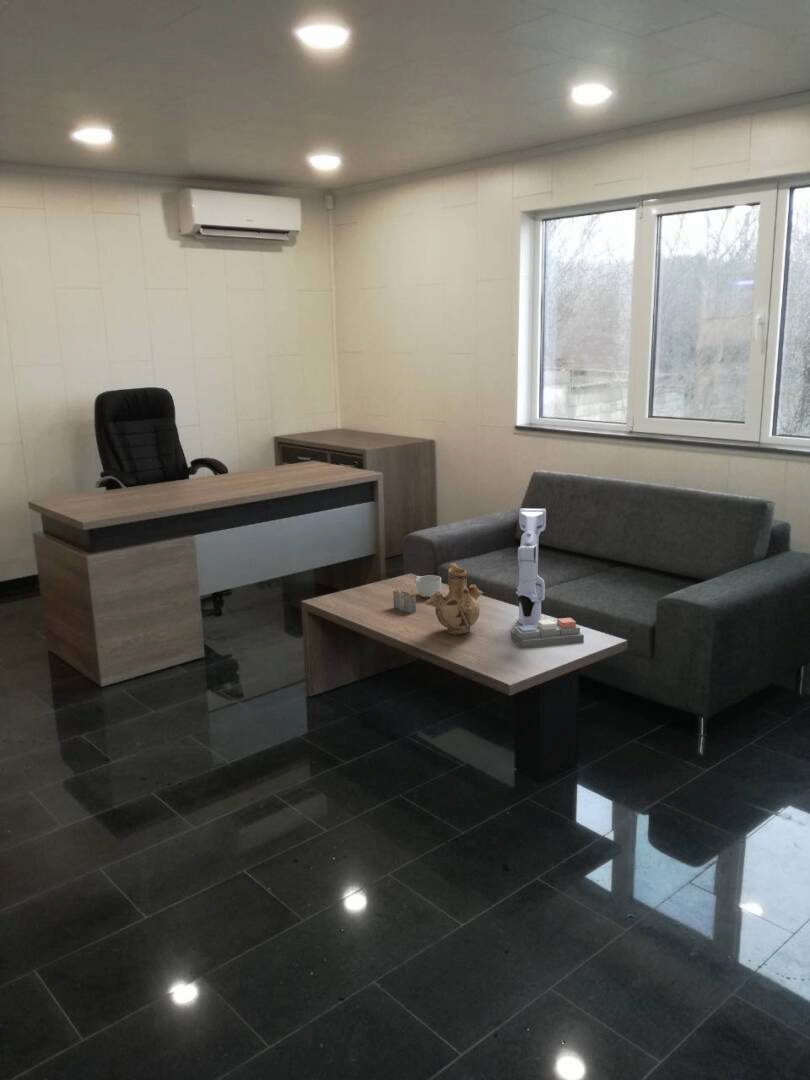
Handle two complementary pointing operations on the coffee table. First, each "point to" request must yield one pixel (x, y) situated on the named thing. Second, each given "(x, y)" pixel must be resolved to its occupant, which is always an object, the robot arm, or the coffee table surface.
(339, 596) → the coffee table surface
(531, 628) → the blue key
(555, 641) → the key panel
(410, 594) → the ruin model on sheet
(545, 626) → the white key
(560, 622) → the salmon pink key
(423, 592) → the teacup
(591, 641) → the coffee table surface
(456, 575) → the ceramic vessel
